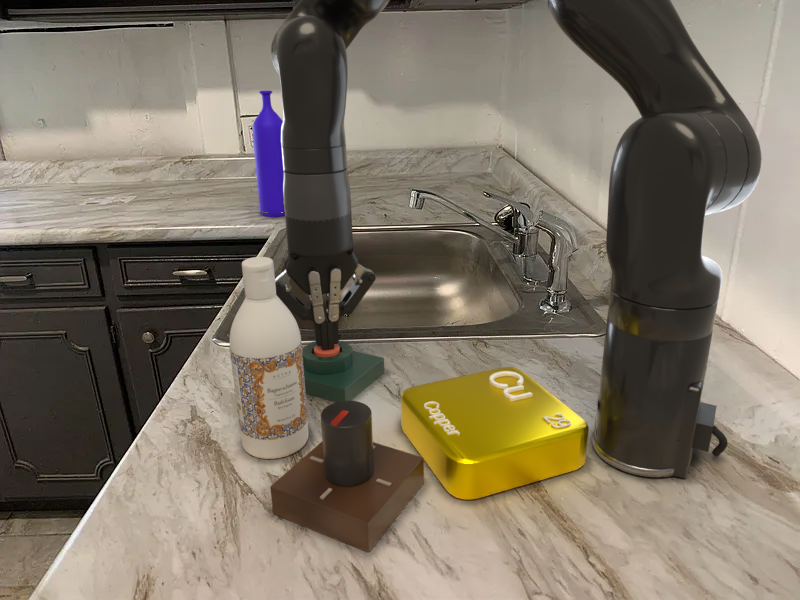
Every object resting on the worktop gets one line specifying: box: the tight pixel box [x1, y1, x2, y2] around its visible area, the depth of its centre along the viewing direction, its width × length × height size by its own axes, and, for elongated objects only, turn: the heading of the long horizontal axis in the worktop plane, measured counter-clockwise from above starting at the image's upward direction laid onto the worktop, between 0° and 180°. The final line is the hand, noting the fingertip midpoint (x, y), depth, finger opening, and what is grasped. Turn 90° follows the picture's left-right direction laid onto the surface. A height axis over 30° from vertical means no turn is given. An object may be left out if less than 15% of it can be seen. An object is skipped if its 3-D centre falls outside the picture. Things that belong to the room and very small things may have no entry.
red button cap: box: [314, 344, 340, 357], centre depth 78 cm, size 3×3×2 cm
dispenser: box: [302, 340, 385, 403], centre depth 79 cm, size 11×9×4 cm
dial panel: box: [269, 441, 425, 553], centre depth 57 cm, size 10×10×3 cm
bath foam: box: [229, 256, 310, 460], centre depth 63 cm, size 7×7×20 cm
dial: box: [320, 400, 374, 486], centre depth 56 cm, size 4×4×6 cm
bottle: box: [252, 90, 285, 218], centre depth 157 cm, size 8×8×30 cm
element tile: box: [400, 366, 590, 501], centre depth 65 cm, size 15×15×5 cm
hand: (327, 346), depth 78 cm, fingers closed
